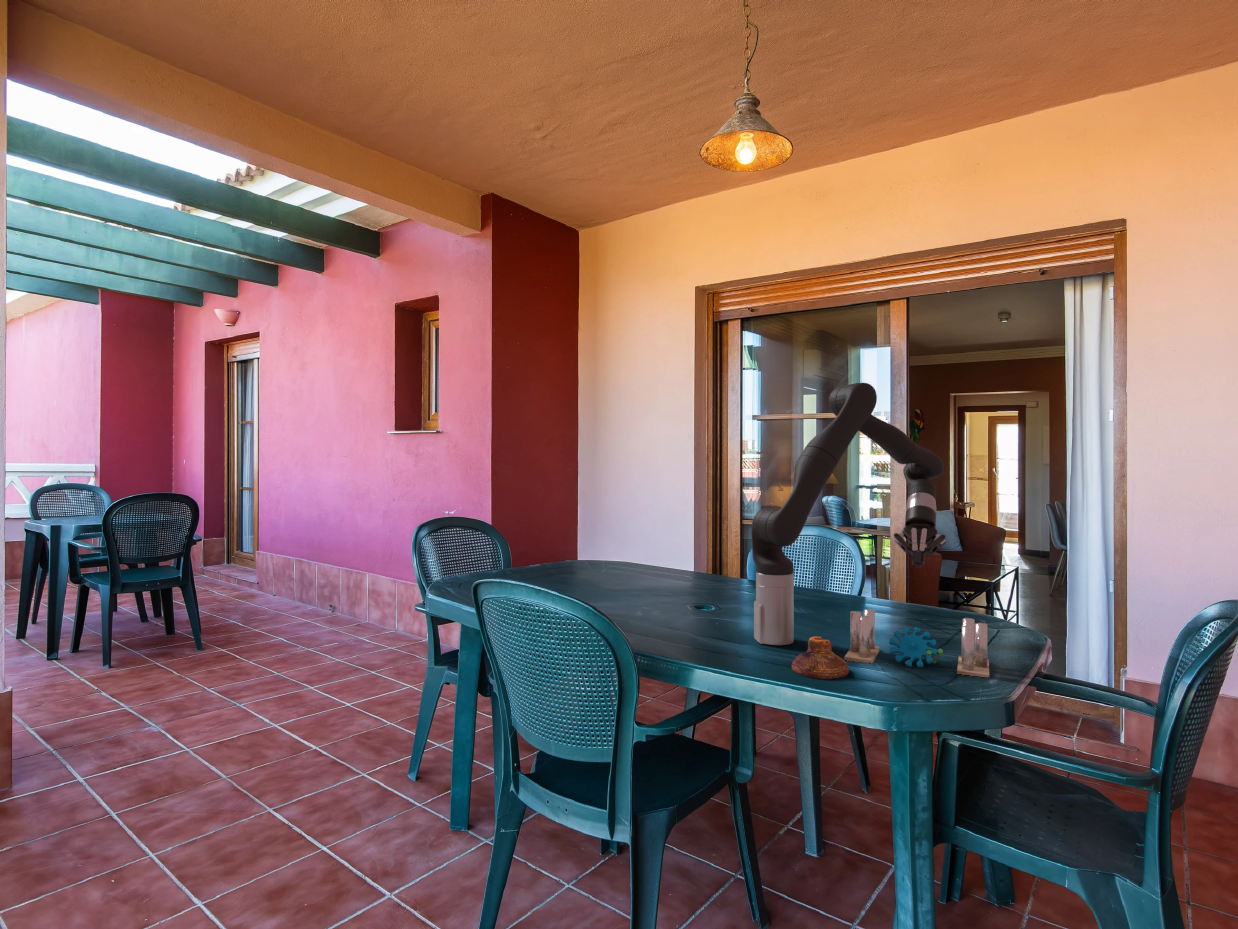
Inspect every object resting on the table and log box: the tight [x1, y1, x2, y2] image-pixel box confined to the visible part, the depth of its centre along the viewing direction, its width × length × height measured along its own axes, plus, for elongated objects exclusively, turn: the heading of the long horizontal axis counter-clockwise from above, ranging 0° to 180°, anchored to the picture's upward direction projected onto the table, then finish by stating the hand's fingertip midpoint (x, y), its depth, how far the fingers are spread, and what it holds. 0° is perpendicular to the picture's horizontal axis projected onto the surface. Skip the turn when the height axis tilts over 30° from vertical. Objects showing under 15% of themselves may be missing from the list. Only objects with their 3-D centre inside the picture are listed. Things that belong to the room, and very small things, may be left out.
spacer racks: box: [843, 645, 990, 678], centre depth 156 cm, size 13×29×1 cm, turn 62°
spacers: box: [849, 608, 988, 671], centre depth 156 cm, size 10×28×9 cm, turn 62°
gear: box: [888, 626, 944, 668], centre depth 156 cm, size 11×6×10 cm
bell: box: [791, 636, 850, 680], centre depth 150 cm, size 12×12×7 cm
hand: (917, 565), depth 176 cm, fingers closed
